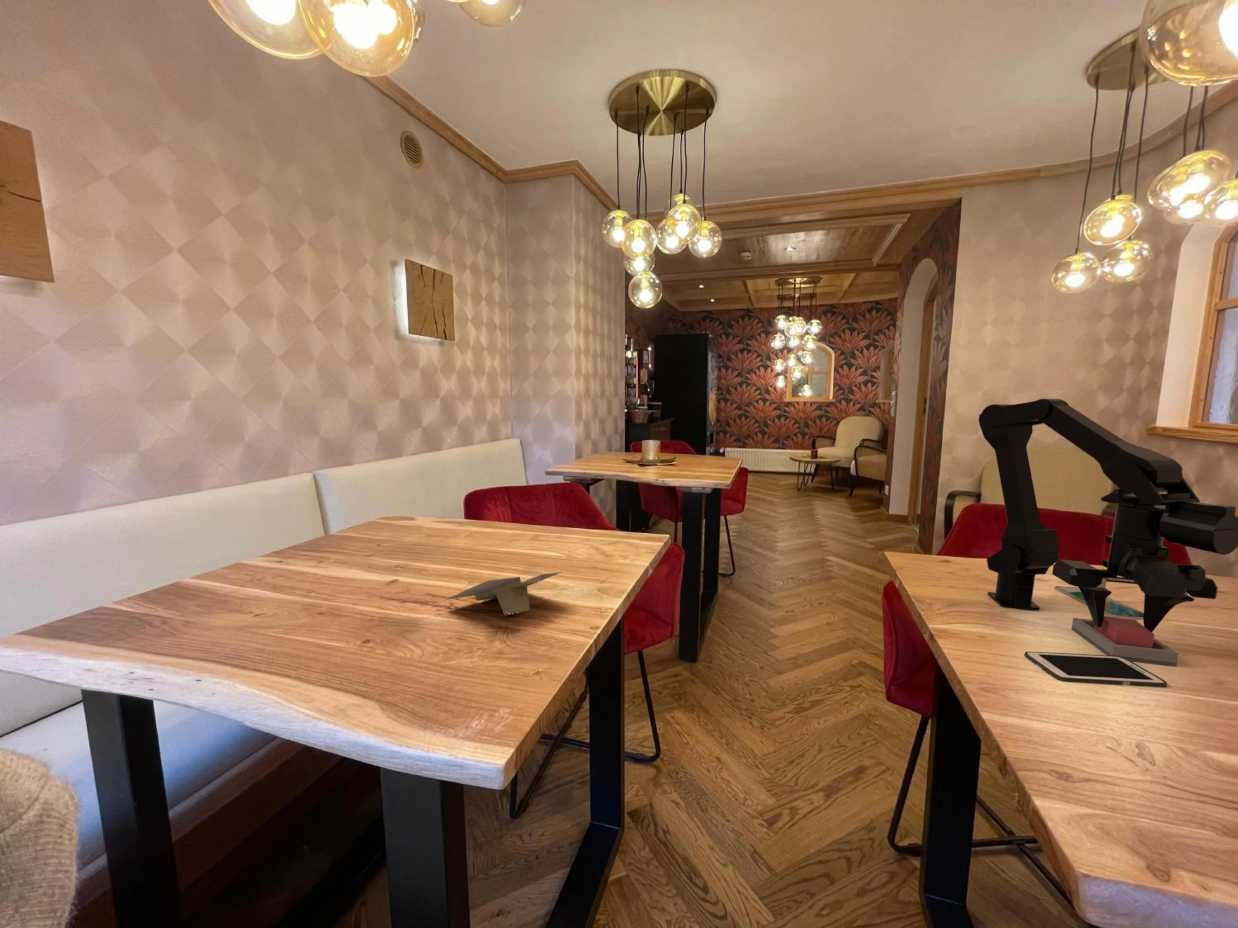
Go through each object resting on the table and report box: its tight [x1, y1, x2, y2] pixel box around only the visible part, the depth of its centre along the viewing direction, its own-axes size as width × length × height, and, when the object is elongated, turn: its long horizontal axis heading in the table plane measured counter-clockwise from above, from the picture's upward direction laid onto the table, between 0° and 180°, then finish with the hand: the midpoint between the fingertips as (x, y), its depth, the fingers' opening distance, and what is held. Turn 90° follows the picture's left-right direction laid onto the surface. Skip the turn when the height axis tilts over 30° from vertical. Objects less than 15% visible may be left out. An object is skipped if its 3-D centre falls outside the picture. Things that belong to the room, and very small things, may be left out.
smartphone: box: [1053, 585, 1144, 621], centre depth 102 cm, size 7×1×15 cm
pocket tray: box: [1071, 617, 1179, 667], centre depth 84 cm, size 11×8×2 cm
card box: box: [1093, 613, 1155, 648], centre depth 84 cm, size 7×4×4 cm, turn 158°
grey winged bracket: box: [444, 572, 562, 616], centre depth 93 cm, size 16×9×15 cm
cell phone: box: [1024, 651, 1168, 688], centre depth 77 cm, size 8×15×1 cm, turn 85°
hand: (1122, 628), depth 84 cm, fingers open, 6 cm apart
